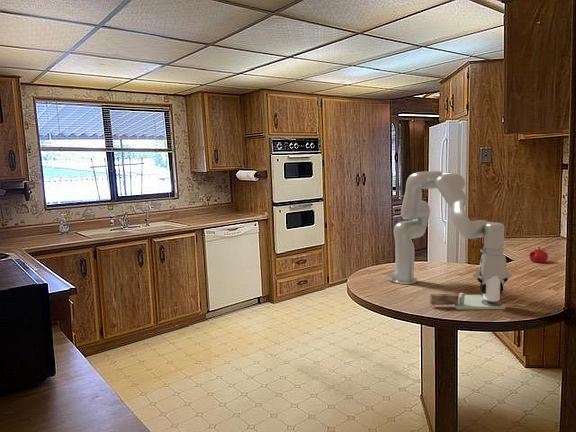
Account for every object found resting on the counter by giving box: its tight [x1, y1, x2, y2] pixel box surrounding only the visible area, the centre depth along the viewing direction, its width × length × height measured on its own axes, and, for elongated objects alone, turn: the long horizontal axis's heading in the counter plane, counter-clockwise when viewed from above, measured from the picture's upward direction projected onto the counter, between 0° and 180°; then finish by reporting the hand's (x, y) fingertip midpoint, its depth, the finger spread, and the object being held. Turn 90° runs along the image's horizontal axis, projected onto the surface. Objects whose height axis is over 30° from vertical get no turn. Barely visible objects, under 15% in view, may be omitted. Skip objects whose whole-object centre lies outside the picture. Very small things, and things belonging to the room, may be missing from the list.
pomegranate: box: [528, 246, 549, 264], centre depth 263 cm, size 10×10×9 cm
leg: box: [429, 293, 460, 306], centre depth 187 cm, size 11×2×4 cm, turn 88°
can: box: [483, 276, 501, 302], centre depth 187 cm, size 6×6×12 cm
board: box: [452, 292, 506, 310], centre depth 191 cm, size 20×16×7 cm
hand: (491, 292), depth 187 cm, fingers closed on can, 6 cm apart
